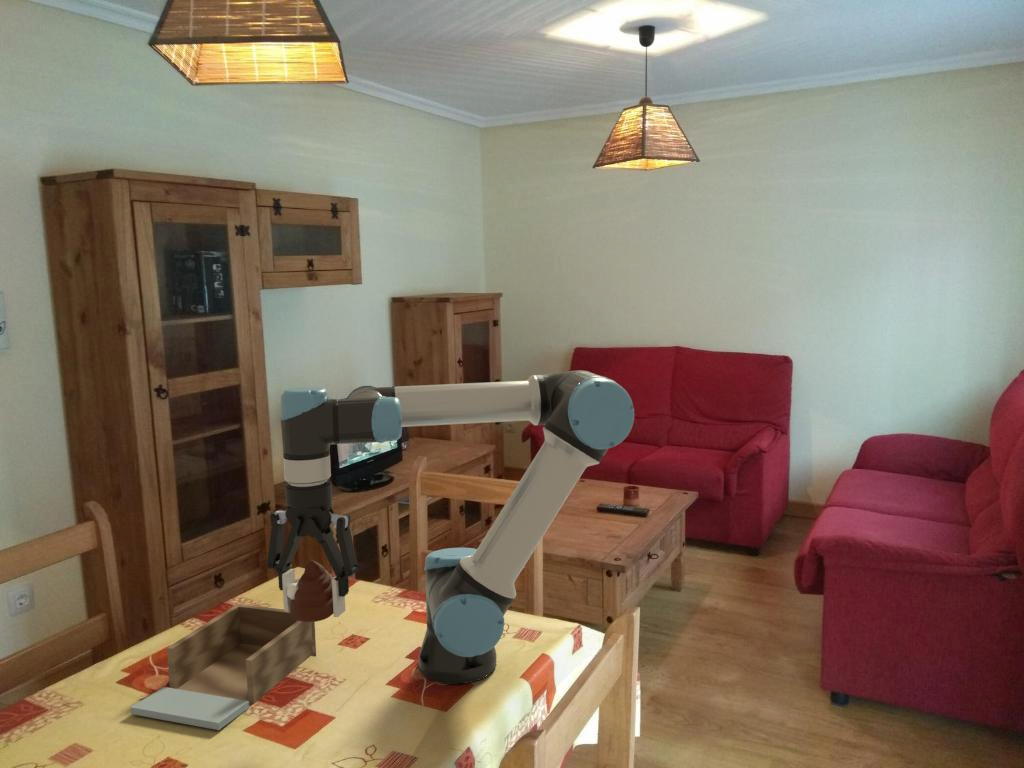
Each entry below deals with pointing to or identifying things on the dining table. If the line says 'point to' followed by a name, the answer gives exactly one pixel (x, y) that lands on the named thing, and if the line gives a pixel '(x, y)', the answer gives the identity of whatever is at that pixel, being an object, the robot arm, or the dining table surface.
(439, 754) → the dining table surface
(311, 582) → the poop emoji
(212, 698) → the door
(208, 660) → the box
